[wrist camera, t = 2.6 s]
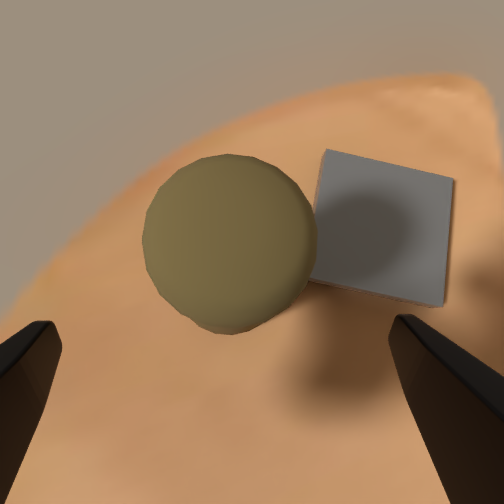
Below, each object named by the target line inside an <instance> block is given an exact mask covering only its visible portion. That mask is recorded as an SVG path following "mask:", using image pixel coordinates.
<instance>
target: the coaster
mask: <svg viewBox="0 0 504 504" xmlns="http://www.w3.org/2000/svg"><path fill="white" fill-rule="evenodd" d="M452 185H453V178H450V177H446V176H442V175H437V174H433V173H429V172H424V171H420V170H416V169H411V168H407V167H403V166H399V165H394V164H390V163H386V162H381V161H377V160H373V159H368V158H364V157H360V156H356V155H351V154H347V153H343V152H338V151H334V150H330V149H326V151H325V152H324V154H323V156H322V159H321V165H320V171H319V176H318V182H317V187H316V193H315V198H314V204H313V210H312V211H313V215H314V218H315V222H316V226H317V229H318V237H317V257H316V263H315V265H314V268H313V270H312V273H311V275H310V278H309V280H308V281H312V282H316V283H321V284H325V285H330V286H334V287H339V288H343V289H348V290H352V291H357V292H362V293H366V294H371V295H375V296H380V297H384V298H389V299H393V300H398V301H402V302H407V303H411V304H416V305H420V306H425V307H429V308H440V307H443V300H444V287H445V274H446V261H447V249H448V236H449V223H450V211H451V198H452Z"/></svg>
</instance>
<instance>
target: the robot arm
mask: <svg viewBox="0 0 504 504" xmlns="http://www.w3.org/2000/svg"><path fill="white" fill-rule="evenodd" d="M388 342H389V346H390V349H391V353H392V356H393V359H394V363H395V366H396V369H397V372H398V376H399V379H400V382H401V385H402V389H403V392H404V394H405V397H406V400H407V402H408V405H409V407H410V410H411V412H412V414H413V417H414V419H415V421H416V424H417V426H418V428H419V431H420V433H421V435H422V438H423V440H424V442H425V445H426V447H427V450H428V452H429V454H430V457H431V459H432V461H433V464H434V466H435V468H436V471H437V473H438V475H439V478H440V480H441V482H442V485H443V487H444V489H445V492H446V494H447V497H448V499H449V501H450V504H504V377H503V376H502V375H500V374H499V373H497V372H496V371H494V370H493V369H492V368H490V367H489V366H487V365H486V364H484V363H483V362H481V361H480V360H478V359H477V358H476V357H474V356H473V355H471V354H470V353H468V352H467V351H465V350H464V349H462V348H461V347H460V346H458V345H457V344H455V343H454V342H452V341H451V340H449V339H448V338H447V337H445V336H444V335H442V334H441V333H439V332H438V331H436V330H435V329H433V328H432V327H431V326H429V325H428V324H426V323H425V322H423V321H422V320H420V319H419V318H417V317H416V316H414V315H412V314H399V315H397V316H396V317H395V319H394V322H393V325H392V327H391V330H390V333H389V336H388ZM61 352H62V342H61V339H60V337H59V334H58V331H57V329H56V326H55V324H54V323H53V322H52V321H34V322H32V323H30V324H29V325H27V326H26V327H25V328H23V329H22V330H20V331H19V332H17V333H16V334H14V335H13V336H11V337H10V338H9V339H7V340H6V341H4V342H3V343H1V344H0V504H5V501H6V499H7V496H8V494H9V492H10V489H11V487H12V485H13V482H14V480H15V478H16V475H17V473H18V470H19V468H20V466H21V463H22V461H23V459H24V456H25V454H26V452H27V449H28V447H29V444H30V442H31V440H32V437H33V435H34V433H35V430H36V428H37V426H38V423H39V421H40V418H41V416H42V413H43V411H44V408H45V405H46V402H47V399H48V396H49V392H50V389H51V386H52V382H53V379H54V376H55V372H56V369H57V366H58V362H59V359H60V356H61Z"/></svg>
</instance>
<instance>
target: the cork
mask: <svg viewBox="0 0 504 504" xmlns="http://www.w3.org/2000/svg"><path fill="white" fill-rule="evenodd" d="M317 237H318V229H317V226H316V222H315V218H314V215H313V211H312V207H311V205H310V203H309V202H308V200H307V199H306V197H305V195H304V194H303V192H302V191H301V189H300V188H299V186H298V185H297V183H295V182H294V181H293V180H292V179H291V178H289V177H288V176H287V175H286V174H285V173H283V172H282V171H281V170H280V169H279V168H277V167H275V166H273V165H271V164H268V163H266V162H264V161H262V160H259V159H257V158H255V157H249V156H241V155H233V154H224V155H218V156H212V157H206V158H201V159H199V160H197V161H195V162H193V163H191V164H189V165H187V166H185V167H183V168H181V169H179V170H178V171H177V172H176V173H174V174H173V175H172V176H171V177H170V178H169V179H168V180H167V181H166V182H165V183H164V184H163V185H162V186H161V187H160V188H159V189H158V191H157V193H156V195H155V197H154V199H153V201H152V202H151V204H150V206H149V208H148V210H147V212H146V218H145V224H144V230H143V236H142V245H143V251H144V258H145V264H146V270H147V272H148V274H149V276H150V277H151V279H152V281H153V283H154V285H155V287H156V288H157V290H158V292H159V294H160V295H161V296H162V297H163V298H164V299H165V300H166V301H167V302H168V303H169V304H171V305H172V306H173V307H174V308H175V309H176V310H177V311H178V312H179V313H180V314H182V315H184V316H186V317H189V318H190V319H192V320H193V321H194V322H195V323H196V324H197V325H198V326H199V327H201V328H204V329H206V330H208V331H210V332H213V333H215V334H226V335H234V334H238V333H243V332H247V331H250V330H251V329H253V328H254V327H256V326H258V325H259V324H261V323H263V322H266V321H267V320H269V319H270V318H272V317H274V316H275V315H277V314H279V313H280V312H282V311H283V310H285V309H287V308H288V307H289V306H290V305H291V304H292V303H293V301H294V300H295V299H296V298H297V297H298V296H299V294H300V293H301V292H302V291H303V290H304V288H305V287H306V286H307V283H308V280H309V278H310V275H311V273H312V270H313V268H314V265H315V263H316V257H317Z"/></svg>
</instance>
